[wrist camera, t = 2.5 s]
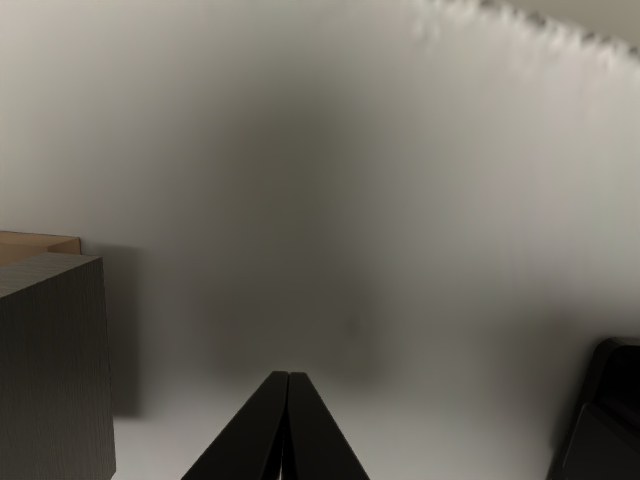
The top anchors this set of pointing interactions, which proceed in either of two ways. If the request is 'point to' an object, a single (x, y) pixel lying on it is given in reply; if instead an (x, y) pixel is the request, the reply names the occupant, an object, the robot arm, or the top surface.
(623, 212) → the top surface
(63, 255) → the box with dark endplate
